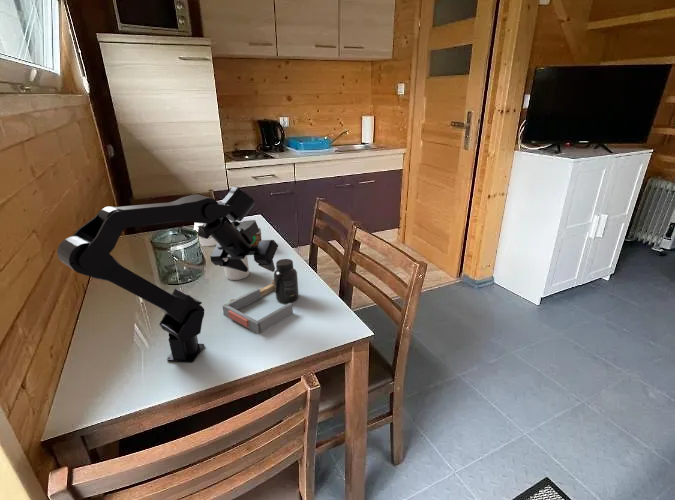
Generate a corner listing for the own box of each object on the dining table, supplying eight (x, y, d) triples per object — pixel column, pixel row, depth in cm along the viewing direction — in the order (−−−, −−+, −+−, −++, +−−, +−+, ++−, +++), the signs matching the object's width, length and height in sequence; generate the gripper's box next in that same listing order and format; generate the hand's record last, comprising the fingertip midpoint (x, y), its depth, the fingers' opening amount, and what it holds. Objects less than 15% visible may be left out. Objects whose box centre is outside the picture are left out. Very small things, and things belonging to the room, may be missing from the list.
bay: (256, 334, 97) (254, 325, 95) (221, 315, 106) (220, 306, 104) (292, 313, 106) (292, 303, 105) (258, 297, 115) (257, 288, 114)
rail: (233, 310, 108) (232, 303, 107) (229, 308, 109) (228, 301, 108) (281, 286, 120) (280, 280, 120) (276, 284, 122) (275, 278, 121)
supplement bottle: (302, 293, 116) (299, 258, 111) (293, 305, 110) (290, 268, 105) (281, 291, 118) (278, 256, 113) (272, 302, 112) (268, 265, 107)
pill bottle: (225, 282, 125) (219, 240, 119) (225, 272, 132) (219, 231, 126) (250, 278, 126) (244, 237, 121) (248, 269, 134) (243, 229, 128)
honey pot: (232, 238, 163) (226, 197, 156) (209, 248, 153) (201, 205, 146) (212, 233, 169) (206, 194, 163) (188, 242, 159) (180, 201, 153)
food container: (241, 245, 155) (238, 222, 152) (255, 242, 158) (253, 219, 154) (247, 255, 145) (244, 231, 141) (263, 252, 147) (260, 228, 144)
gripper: (269, 207, 92) (297, 245, 103) (212, 213, 100) (244, 248, 111) (252, 243, 86) (285, 280, 97) (193, 246, 94) (229, 280, 105)
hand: (260, 270), depth 103 cm, fingers open, 9 cm apart
